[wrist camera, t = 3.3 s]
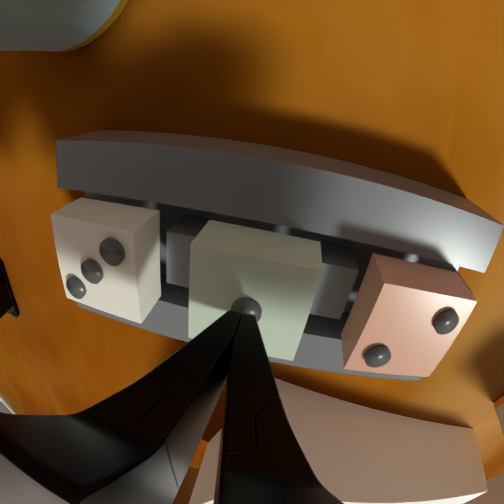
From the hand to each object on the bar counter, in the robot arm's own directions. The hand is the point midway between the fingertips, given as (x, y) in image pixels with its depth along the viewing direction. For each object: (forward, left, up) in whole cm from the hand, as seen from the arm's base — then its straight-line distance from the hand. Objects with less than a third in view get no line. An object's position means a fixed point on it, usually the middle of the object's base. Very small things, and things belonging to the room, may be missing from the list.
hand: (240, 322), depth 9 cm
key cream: (-6, 0, -3) cm, 6 cm away
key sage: (0, 0, -3) cm, 3 cm away
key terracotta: (+6, 0, -3) cm, 7 cm away
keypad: (0, 0, -6) cm, 6 cm away
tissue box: (+12, -20, -7) cm, 24 cm away
